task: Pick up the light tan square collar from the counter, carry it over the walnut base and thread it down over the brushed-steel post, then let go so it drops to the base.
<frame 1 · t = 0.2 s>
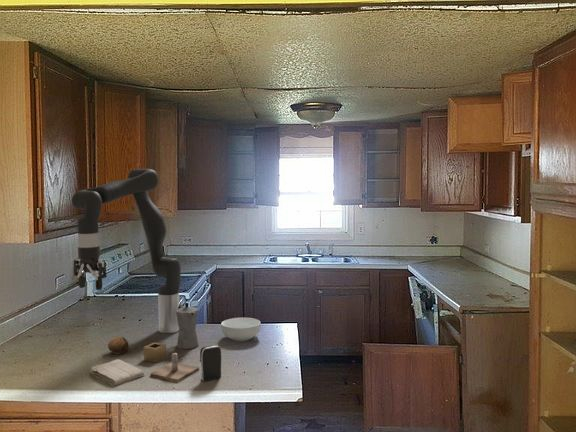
hand: (90, 288, 187), 29 cm above the counter, fingers open, 8 cm apart
washcloth: (116, 376, 180), on the counter
cereal bowl: (241, 338, 218), on the counter
post base: (174, 373, 180), on the counter
coffeepot: (186, 345, 210), on the counter
battery charger: (210, 378, 176), on the counter
brown round lump: (118, 352, 202), on the counter
collar: (155, 358, 195), on the counter
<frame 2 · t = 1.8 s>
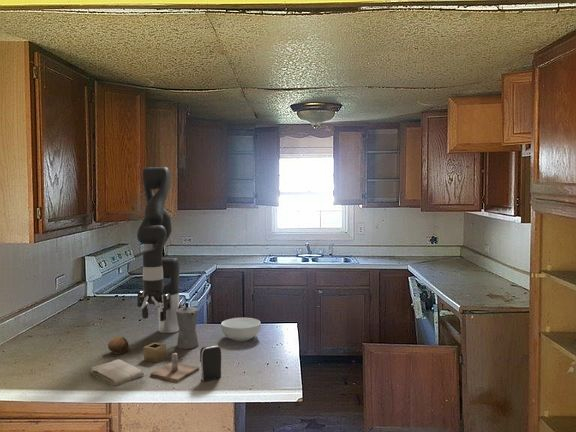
hand: (154, 319, 193), 15 cm above the counter, fingers open, 8 cm apart
nothing on the counter moved.
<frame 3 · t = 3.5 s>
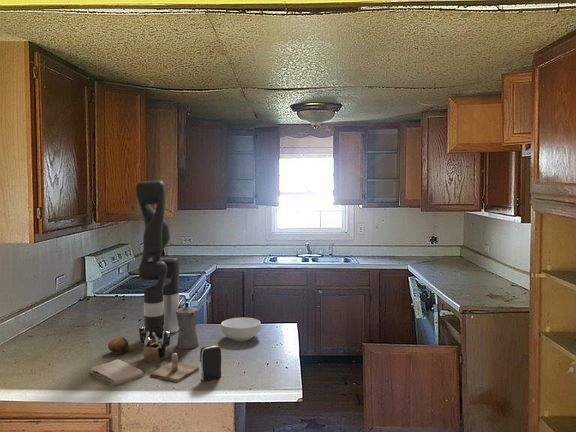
hand: (155, 355, 195), 1 cm above the counter, fingers closed on collar, 6 cm apart
collar: (155, 358, 195), on the counter, touching gripper
everything else where it was.
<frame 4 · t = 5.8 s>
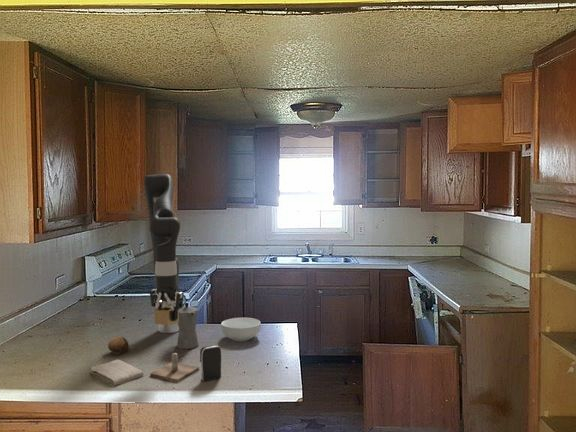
hand: (167, 319, 181), 19 cm above the counter, fingers closed on collar, 6 cm apart
collar: (167, 322, 181), point 18 cm above the counter, touching gripper
everything else where it was.
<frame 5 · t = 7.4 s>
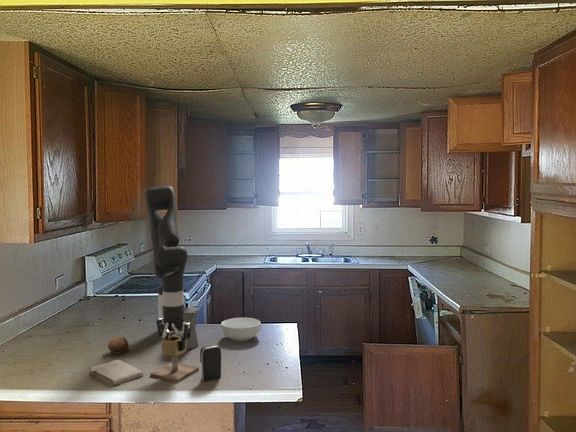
hand: (174, 349, 180), 9 cm above the counter, fingers closed on collar, 6 cm apart
collar: (174, 352, 180), point 8 cm above the counter, touching gripper
everything else where it was.
when the fingers open (5 cm above the counter, at t = 8.5 s): collar drops 3 cm, resting on post base.
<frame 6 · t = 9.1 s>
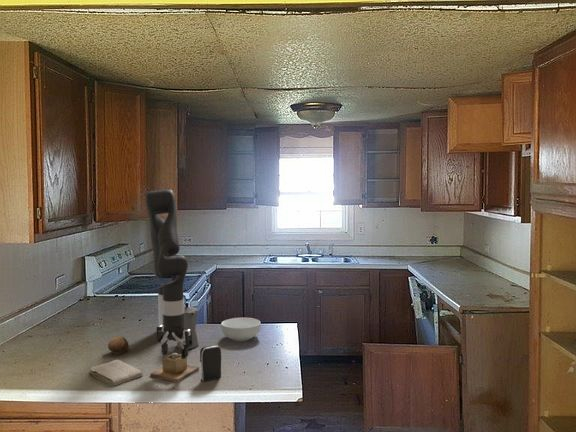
hand: (174, 356, 180), 6 cm above the counter, fingers open, 8 cm apart
collar: (175, 370, 180), point 1 cm above the counter, touching post base
everything else where it was.
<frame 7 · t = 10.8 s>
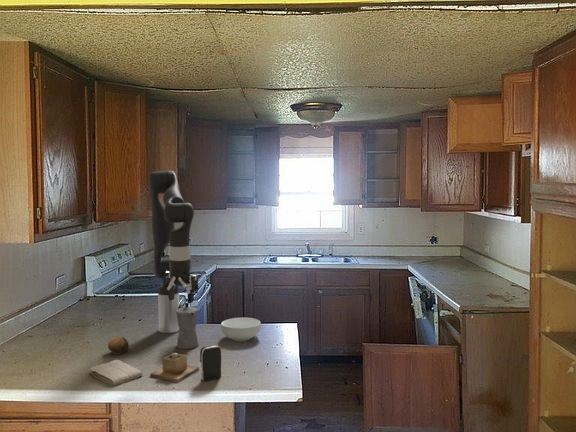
hand: (180, 301, 185), 24 cm above the counter, fingers open, 8 cm apart
nothing on the counter moved.
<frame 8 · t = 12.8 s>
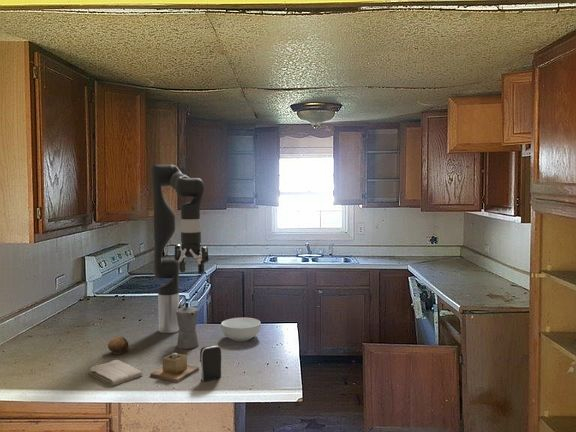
hand: (191, 272, 194), 33 cm above the counter, fingers open, 8 cm apart
nothing on the counter moved.
at the end: collar 0.0 cm off-centre on the post base, point 1.0 cm above the post base's base; the gripper is holding nothing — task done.
